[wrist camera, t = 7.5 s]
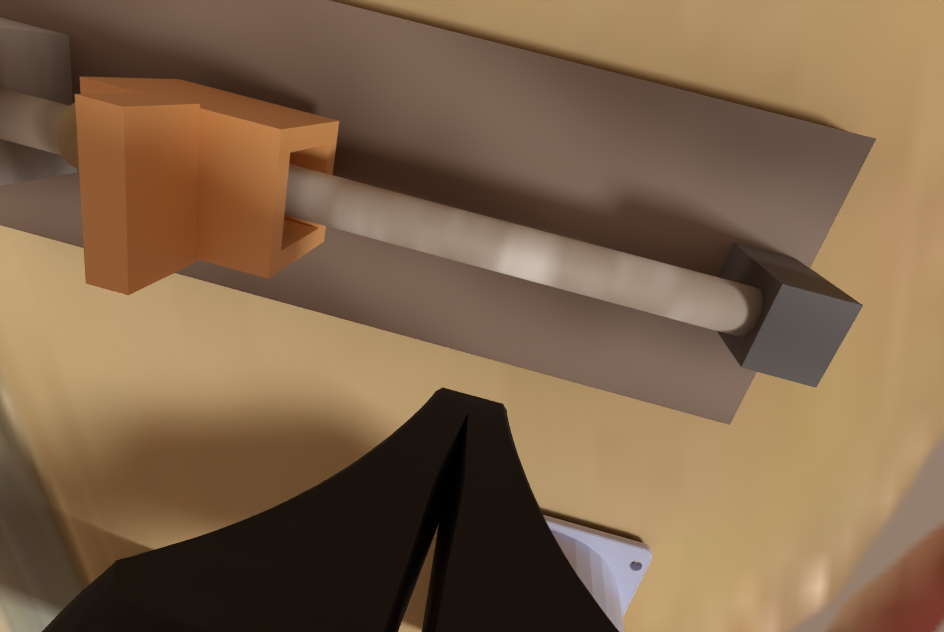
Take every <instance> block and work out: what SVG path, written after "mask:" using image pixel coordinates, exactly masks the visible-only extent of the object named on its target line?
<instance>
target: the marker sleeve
mask: <svg viewBox="0 0 944 632" xmlns="http://www.w3.org/2000/svg"><path fill="white" fill-rule="evenodd" d="M80 92H81V94H75V107H76V124H77V141H78V158H79V175H80V192H81V209H82V226H83V243H84V260H85V277H86V283H87V284H90V285H94V286H97V287H101V288H105V289H108V290H112V291H115V292H119V293H123V294H126V295H130V294H132V293H134V292H136V291H138V290H140V289H142V288H144V287H146V286H148V285H150V284H152V283H154V282H156V281H158V280H161V279H163V278H165V277H167V276H169V275H171V274H173V273H175V272H177V271H179V270H181V269H183V268H185V267H187V266H189V265H191V264H193V263H196V259H198V260H202V261H205V262H209V263H213V264H216V265H220V266H224V267H227V268H231V269H235V270H238V271H242V272H246V273H249V274H253V275H257V276H260V277H264V278H268V279H269V278H270V277H272V276H273V275H275V274H276V273H278V272H279V271H281V270H282V269H284V268H285V267H287V266H288V265H290V264H291V263H293V262H294V261H296V260H297V259H299V258H300V257H302V256H303V255H305V254H306V253H308V252H309V251H311V250H312V249H314V248H315V247H317V246H318V245H320V244H321V243H323V242H324V238H325V230H326V226H324V225H320V224H316V223H313V222H309V221H305V220H301V219H298V218H294V217H290V216H286V215H284V213H285V202H286V192H287V181H288V171H289V164H292V165H296V166H299V167H303V168H307V169H311V170H314V171H318V172H322V173H326V174H330V175H333V167H334V159H335V151H336V143H337V135H338V127H339V121H338V120H334V119H330V118H326V117H323V116H319V115H315V114H311V113H307V112H303V111H300V110H296V109H292V108H288V107H284V106H280V105H277V104H273V103H269V102H265V101H261V100H257V99H254V98H250V97H246V96H242V95H238V94H235V93H231V92H227V91H223V90H219V89H215V88H212V87H208V86H204V85H200V84H196V83H192V82H189V81H185V80H181V79H155V78H117V77H80Z"/></svg>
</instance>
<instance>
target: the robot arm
mask: <svg viewBox="0 0 944 632" xmlns="http://www.w3.org/2000/svg"><path fill="white" fill-rule="evenodd" d="M438 524H439V526H438ZM437 527H438V532H437V539H436V545H435V551H434V558H433V564H432V570H431V577H430V583H429V590H428V596H427V603H426V609H425V615H424V622H423V628H422V632H624V625H623V615H624V613H625V611H626V609H627V607H628V605H629V603H630V601H631V599H632V597H633V596H634V594H635V592H636V590H637V588H638V586H639V584H640V582H641V580H642V578H643V576H644V574H645V572H646V570H647V568H648V566H649V564H650V562H651V559H652V554H651V550H650V547H649V546H648V545H646V544H644V543H642V542H638V541H634V540H631V539H627V538H624V537H620V536H617V535H613V534H610V533H606V532H603V531H599V530H596V529H592V528H588V527H585V526H581V525H578V524H574V523H571V522H567V521H564V520H560V519H557V518H553V517H550V516H546V515H543V514H542V512H541V510H540V508H539V505H538V503H537V501H536V499H535V497H534V495H533V492H532V490H531V488H530V485H529V483H528V480H527V478H526V475H525V473H524V470H523V467H522V465H521V462H520V459H519V456H518V453H517V450H516V447H515V444H514V441H513V437H512V434H511V430H510V426H509V422H508V417H507V410H506V409H505V407H504V405H503V404H501V403H498V402H494V401H490V400H487V399H483V398H479V397H476V396H472V395H468V394H464V393H461V392H457V391H453V390H450V389H446V388H441V389H439V390H437V391H436V392H435V393H434V394H433V396H432V397H431V398H430V399H429V400H428V401H427V402H426V403H425V405H424V406H423V407H422V408H421V409H420V410H419V411H418V412H417V413H415V414H414V415H413V416H412V417H411V418H410V419H409V420H408V421H407V422H406V423H404V424H403V425H402V426H401V427H400V428H399V429H398V430H396V431H395V432H394V433H393V434H392V435H391V436H389V437H388V438H387V439H386V440H384V441H383V442H382V443H380V444H379V445H378V446H376V447H375V448H374V449H372V450H371V451H370V452H368V453H367V454H365V455H364V456H363V457H361V458H360V459H359V460H357V461H356V462H354V463H353V464H351V465H350V466H348V467H347V468H345V469H343V470H342V471H340V472H339V473H337V474H335V475H334V476H332V477H330V478H329V479H327V480H325V481H324V482H322V483H320V484H318V485H317V486H315V487H313V488H311V489H309V490H307V491H305V492H303V493H301V494H299V495H297V496H296V497H294V498H292V499H290V500H288V501H286V502H284V503H282V504H280V505H277V506H275V507H273V508H271V509H269V510H267V511H264V512H262V513H260V514H257V515H255V516H252V517H250V518H247V519H245V520H242V521H240V522H237V523H235V524H232V525H230V526H227V527H224V528H222V529H219V530H216V531H213V532H210V533H208V534H205V535H202V536H199V537H196V538H193V539H189V540H186V541H182V542H179V543H176V544H172V545H169V546H166V547H162V548H159V549H156V550H152V551H149V552H145V553H142V554H139V555H135V556H132V557H128V558H124V559H120V560H117V561H116V562H114V563H113V564H112V565H111V566H110V567H109V568H108V569H107V570H106V571H105V572H104V573H103V574H102V575H100V576H99V577H98V578H97V579H96V580H95V581H93V582H92V583H91V584H90V585H89V586H87V587H86V588H85V589H84V590H83V591H82V592H81V593H80V594H79V595H78V596H77V597H76V598H74V599H73V600H72V601H71V602H70V603H69V604H68V605H67V606H66V607H65V608H64V609H63V610H62V611H61V612H60V613H59V614H58V615H57V616H56V617H55V619H54V620H53V621H52V622H51V623H50V624H49V625H48V626H47V627H46V628H45V629H44V630H43V631H42V632H398V630H399V627H400V624H401V622H402V619H403V617H404V614H405V611H406V609H407V606H408V603H409V601H410V598H411V595H412V593H413V590H414V588H415V585H416V582H417V580H418V577H419V574H420V572H421V569H422V566H423V564H424V561H425V558H426V556H427V553H428V551H429V548H430V545H431V543H432V540H433V537H434V535H435V532H436V529H437ZM634 561H636V562H639V563H631V562H634Z"/></svg>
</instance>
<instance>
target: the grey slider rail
mask: <svg viewBox="0 0 944 632" xmlns="http://www.w3.org/2000/svg"><path fill="white" fill-rule="evenodd" d="M80 77H117V78H155V79H181V80H185V81H189V82H192V83H196V84H200V85H204V86H208V87H212V88H215V89H219V90H223V91H227V92H231V93H235V94H238V95H242V96H246V97H250V98H254V99H257V100H261V101H265V102H269V103H273V104H277V105H280V106H284V107H288V108H292V109H296V110H300V111H303V112H307V113H311V114H315V115H319V116H323V117H326V118H330V119H334V120H338V121H339V127H338V135H337V143H336V151H335V159H334V167H333V175H330V174H326V173H322V172H318V171H314V170H311V169H307V168H303V167H299V166H296V165H292V164H289V171H288V181H287V192H286V202H285V213H284V215H286V216H290V217H294V218H298V219H301V220H305V221H309V222H313V223H316V224H320V225H324V226H326V230H325V238H324V242H323V243H321V244H320V245H318V246H317V247H315V248H314V249H312V250H311V251H309V252H308V253H306V254H305V255H303V256H302V257H300V258H299V259H297V260H296V261H294V262H293V263H291V264H290V265H288V266H287V267H285V268H284V269H282V270H281V271H279V272H278V273H276V274H275V275H273V276H272V277H270V278H269V279H268V278H264V277H260V276H257V275H253V274H249V273H246V272H242V271H238V270H235V269H231V268H227V267H224V266H220V265H216V264H213V263H209V262H205V261H202V260H198V259H196V263H193V264H191V265H189V266H187V267H185V268H183V269H181V270H179V271H177V272H175V273H177V274H181V275H185V276H188V277H192V278H196V279H199V280H203V281H207V282H210V283H214V284H218V285H221V286H225V287H229V288H232V289H236V290H239V291H243V292H247V293H250V294H254V295H258V296H261V297H265V298H269V299H272V300H276V301H280V302H283V303H287V304H291V305H294V306H298V307H302V308H305V309H309V310H313V311H316V312H320V313H324V314H327V315H331V316H334V317H338V318H342V319H345V320H349V321H353V322H356V323H360V324H364V325H367V326H371V327H375V328H378V329H382V330H386V331H389V332H393V333H397V334H400V335H404V336H408V337H411V338H415V339H419V340H422V341H426V342H429V343H433V344H437V345H440V346H444V347H448V348H451V349H455V350H459V351H462V352H466V353H470V354H473V355H477V356H481V357H484V358H488V359H492V360H495V361H499V362H503V363H506V364H510V365H513V366H517V367H521V368H524V369H528V370H532V371H535V372H539V373H543V374H546V375H550V376H554V377H557V378H561V379H565V380H568V381H572V382H576V383H579V384H583V385H587V386H590V387H594V388H598V389H601V390H605V391H608V392H612V393H616V394H619V395H623V396H627V397H630V398H634V399H638V400H641V401H645V402H649V403H652V404H656V405H660V406H663V407H667V408H671V409H674V410H678V411H682V412H685V413H689V414H693V415H696V416H700V417H703V418H707V419H711V420H714V421H718V422H722V423H725V424H729V425H730V423H731V421H732V419H733V417H734V415H735V413H736V411H737V409H738V407H739V405H740V404H741V402H742V400H743V398H744V396H745V394H746V392H747V390H748V388H749V386H750V384H751V382H752V380H753V378H754V376H755V374H756V372H760V373H764V374H768V375H772V376H775V377H779V378H783V379H786V380H790V381H794V382H797V383H801V384H805V385H809V386H812V387H817V385H818V383H819V382H820V380H821V378H822V376H823V375H824V373H825V371H826V369H827V368H828V366H829V364H830V362H831V361H832V359H833V357H834V355H835V354H836V352H837V350H838V348H839V347H840V345H841V343H842V341H843V340H844V338H845V336H846V334H847V333H848V331H849V329H850V327H851V326H852V324H853V322H854V320H855V319H856V317H857V315H858V313H859V312H860V310H861V308H862V306H863V305H862V304H860V303H859V302H857V301H856V300H855V299H853V298H852V297H850V296H849V295H847V294H846V293H844V292H843V291H842V290H840V289H839V288H837V287H836V286H834V285H833V284H832V283H830V282H829V281H827V280H826V279H824V278H823V277H822V276H820V275H819V274H817V273H816V272H814V271H813V270H811V269H810V267H811V265H812V263H813V261H814V259H815V257H816V255H817V253H818V251H819V249H820V247H821V245H822V243H823V241H824V240H825V238H826V236H827V234H828V232H829V230H830V228H831V226H832V224H833V222H834V220H835V218H836V216H837V214H838V212H839V210H840V208H841V206H842V204H843V202H844V200H845V199H846V197H847V195H848V193H849V191H850V189H851V187H852V185H853V183H854V181H855V179H856V177H857V175H858V173H859V171H860V169H861V167H862V165H863V163H864V161H865V159H866V158H867V156H868V154H869V152H870V150H871V148H872V146H873V144H874V142H875V140H876V139H875V138H871V137H867V136H863V135H859V134H855V133H851V132H847V131H843V130H839V129H835V128H831V127H827V126H823V125H820V124H816V123H812V122H808V121H804V120H800V119H796V118H792V117H788V116H784V115H780V114H776V113H772V112H768V111H764V110H760V109H756V108H752V107H749V106H745V105H741V104H737V103H733V102H729V101H725V100H721V99H717V98H713V97H709V96H705V95H701V94H697V93H693V92H689V91H685V90H682V89H678V88H674V87H670V86H666V85H662V84H658V83H654V82H650V81H646V80H642V79H638V78H634V77H630V76H626V75H622V74H618V73H614V72H611V71H607V70H603V69H599V68H595V67H591V66H587V65H583V64H579V63H575V62H571V61H567V60H563V59H559V58H555V57H551V56H547V55H544V54H540V53H536V52H532V51H528V50H524V49H520V48H516V47H512V46H508V45H504V44H500V43H496V42H492V41H488V40H484V39H480V38H476V37H473V36H469V35H465V34H461V33H457V32H453V31H449V30H445V29H441V28H437V27H433V26H429V25H425V24H421V23H417V22H413V21H409V20H406V19H402V18H398V17H394V16H390V15H386V14H382V13H378V12H374V11H370V10H366V9H362V8H358V7H354V6H350V5H346V4H342V3H338V2H335V1H331V0H0V225H2V226H6V227H9V228H13V229H17V230H20V231H24V232H28V233H31V234H35V235H39V236H42V237H46V238H50V239H53V240H57V241H60V242H64V243H68V244H71V245H75V246H79V247H82V248H84V243H83V226H82V209H81V192H80V175H79V158H78V141H77V124H76V107H75V94H81V92H80Z"/></svg>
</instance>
